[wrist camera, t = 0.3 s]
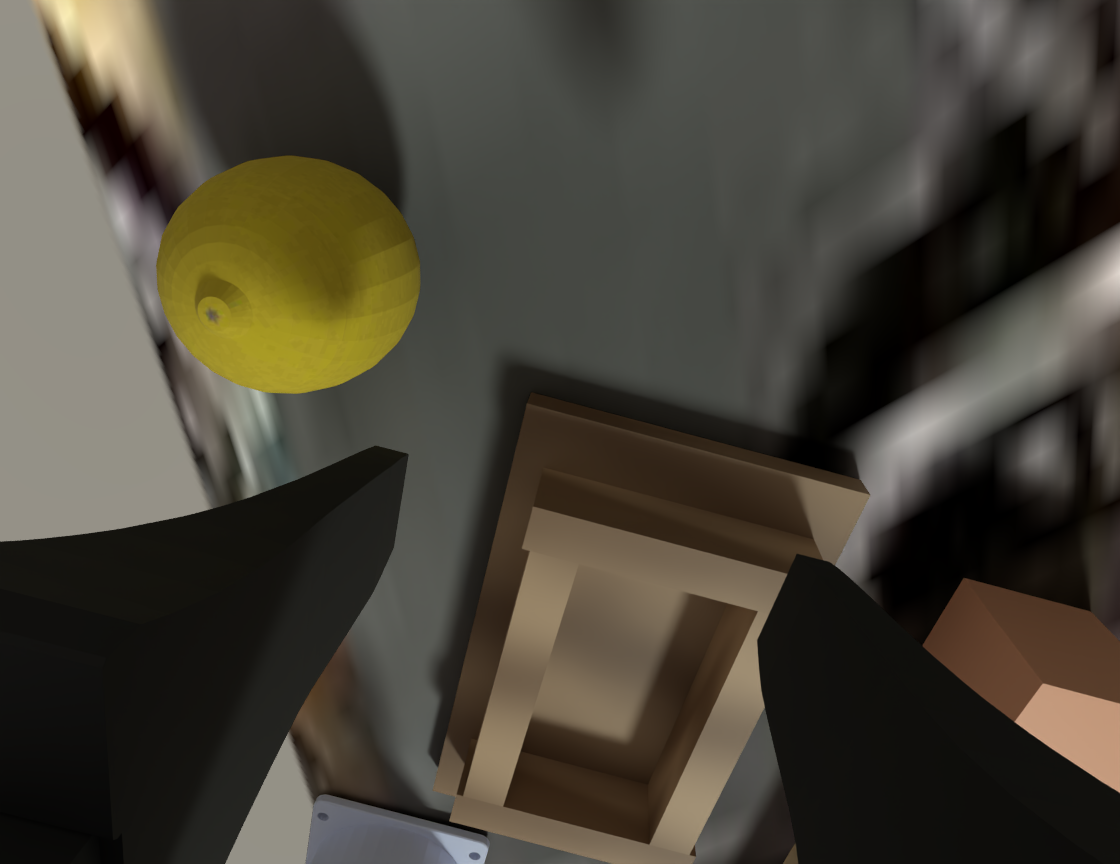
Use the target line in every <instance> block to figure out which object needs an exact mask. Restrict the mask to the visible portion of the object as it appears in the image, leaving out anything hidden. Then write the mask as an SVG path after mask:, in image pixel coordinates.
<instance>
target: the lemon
mask: <svg viewBox="0 0 1120 864" xmlns="http://www.w3.org/2000/svg"><path fill="white" fill-rule="evenodd" d="M156 269H157V286H158V292H159V296H160V299H161V303H162V306H163V309H164V313H165V315H166V317H167V319H168V321H169V322H170V324H171V326H172V328H173V330H174V332H175V334H176V336H177V337H178V338H179V339H180V340H181V342H182V343H183V344H184V345H185V346H186V348H187V349H188V350H189V351H190V352H191V354H192V355H193V356H194V357H196V358H197V359H198V360H199V361H200V362H202V363H203V364H204V365H205V366H207V367H208V368H209V369H210V370H211V371H213V372H215V373H217V374H218V375H220V376H222V377H224V378H226V379H228V380H230V381H232V382H234V383H236V384H238V385H241V386H244V387H248V388H251V389H255V390H259V391H262V392H270V393H294V394H297V393H305V392H310V391H314V390H319V389H324V388H328V387H332V386H336V385H339V384H342V383H344V382H346V381H348V380H350V379H352V378H354V377H355V376H357V375H359V374H361V373H363V372H365V371H367V370H368V369H370V368H372V367H373V366H375V365H376V364H377V363H378V362H379V361H380V360H381V359H382V358H383V357H384V356H385V355H386V354H387V353H388V352H389V351H390V350H391V349H392V348H393V347H394V346H395V345H396V344H397V343H398V342H399V340H400V339H401V337H402V335H403V333H404V332H405V330H406V328H407V326H408V325H409V323H410V321H411V319H412V317H413V315H414V312H415V308H416V304H417V300H418V295H419V291H420V260H419V256H418V252H417V248H416V245H415V241H414V237H413V235H412V233H411V231H410V229H409V227H408V225H407V223H406V221H405V220H404V218H403V216H402V214H401V212H400V211H399V210H398V209H397V208H396V207H395V205H394V204H393V203H392V202H391V201H390V199H389V198H388V197H387V196H386V195H385V194H384V193H383V192H382V191H381V190H379V189H378V188H377V187H375V186H374V185H373V184H371V183H370V182H369V181H367V180H366V179H365V178H363V177H362V176H361V175H359V174H358V173H355V172H353V171H351V170H348V169H346V168H344V167H341V166H339V165H337V164H334V163H332V162H329V161H326V160H320V159H313V158H306V157H299V156H279V157H271V158H263V159H256V160H251V161H247V162H244V163H242V164H239V165H237V166H235V167H233V168H231V169H229V170H227V171H225V172H223V173H220V174H218V175H216V176H214V177H212V178H210V179H209V180H207V181H206V182H205V183H203V184H202V185H201V186H200V187H199V188H198V189H197V190H196V191H195V192H194V193H192V194H191V195H190V196H189V197H188V198H187V199H186V200H185V201H184V202H183V203H182V204H181V205H180V206H179V207H178V208H177V210H176V211H175V213H174V215H173V217H172V218H171V220H170V222H169V224H168V226H167V228H166V229H165V231H164V233H163V235H162V239H161V244H160V249H159V253H158V258H157V264H156Z"/></svg>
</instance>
